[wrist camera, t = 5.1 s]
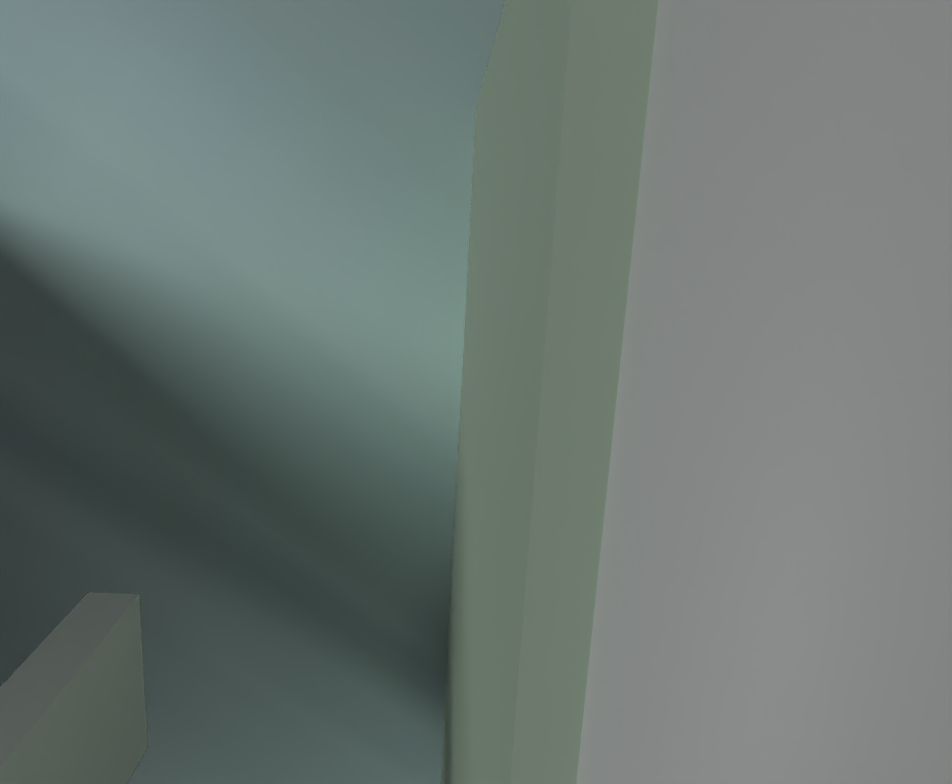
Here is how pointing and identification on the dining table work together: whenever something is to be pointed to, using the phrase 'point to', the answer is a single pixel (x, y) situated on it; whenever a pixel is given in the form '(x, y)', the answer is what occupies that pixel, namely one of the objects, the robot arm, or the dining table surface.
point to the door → (707, 398)
